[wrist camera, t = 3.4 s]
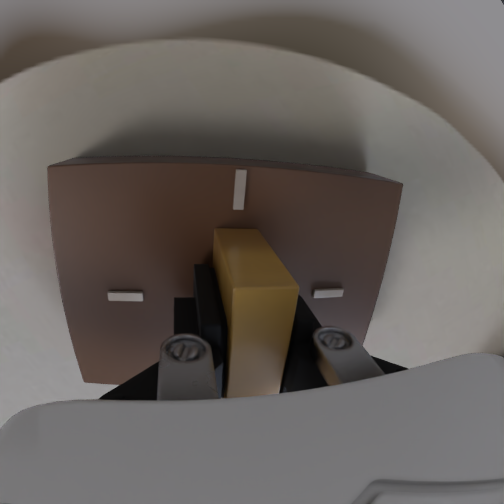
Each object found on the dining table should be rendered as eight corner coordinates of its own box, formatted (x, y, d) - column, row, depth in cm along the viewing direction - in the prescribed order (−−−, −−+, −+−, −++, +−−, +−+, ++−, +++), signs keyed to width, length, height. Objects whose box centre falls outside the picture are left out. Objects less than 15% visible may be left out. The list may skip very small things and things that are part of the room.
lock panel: (73, 157, 12) (45, 166, 9) (368, 172, 15) (405, 184, 12) (94, 345, 15) (83, 385, 12) (333, 338, 18) (355, 371, 16)
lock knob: (214, 227, 11) (235, 293, 7) (258, 228, 11) (304, 291, 7) (209, 350, 13) (225, 439, 9) (246, 349, 13) (273, 434, 9)
